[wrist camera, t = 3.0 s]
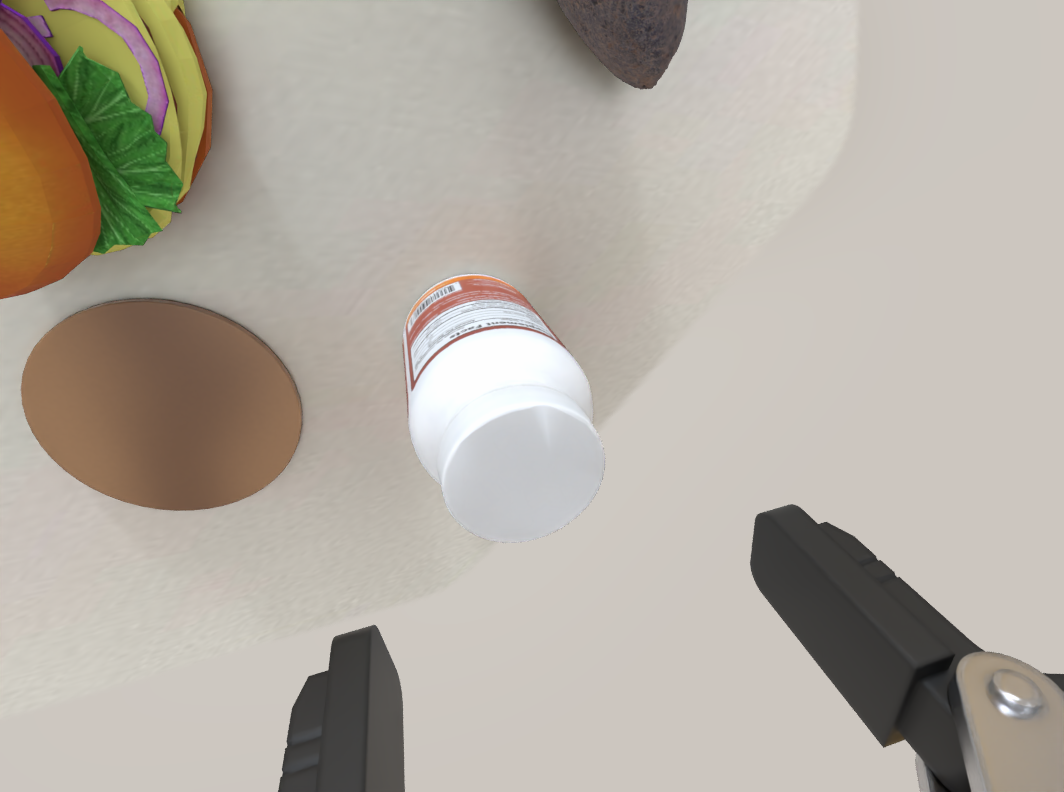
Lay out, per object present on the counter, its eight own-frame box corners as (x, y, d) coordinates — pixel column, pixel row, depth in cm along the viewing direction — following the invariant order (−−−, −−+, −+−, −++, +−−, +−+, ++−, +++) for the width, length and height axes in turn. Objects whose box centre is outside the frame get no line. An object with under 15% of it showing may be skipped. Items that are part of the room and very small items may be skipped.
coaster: (110, 529, 24) (107, 535, 23) (-37, 328, 19) (-45, 332, 18) (332, 474, 25) (331, 479, 25) (250, 275, 20) (247, 277, 20)
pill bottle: (517, 403, 26) (593, 566, 16) (392, 388, 24) (396, 564, 14) (551, 284, 23) (663, 395, 14) (414, 256, 21) (436, 362, 12)
